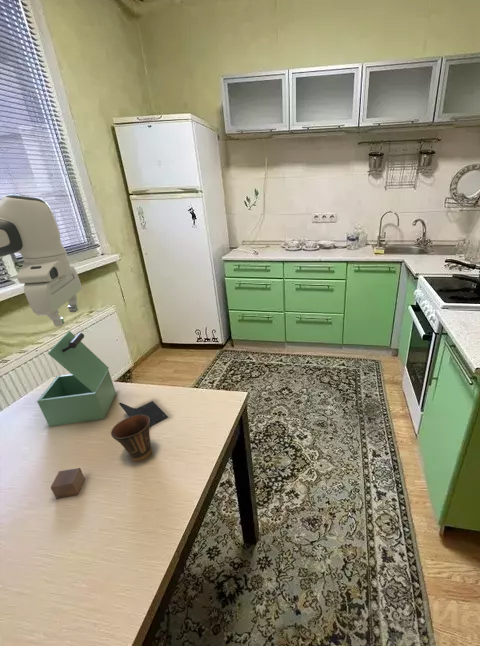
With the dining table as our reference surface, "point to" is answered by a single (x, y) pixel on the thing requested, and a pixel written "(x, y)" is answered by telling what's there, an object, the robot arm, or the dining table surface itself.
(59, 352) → the lid
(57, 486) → the block
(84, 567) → the dining table surface
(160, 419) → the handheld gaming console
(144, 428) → the cup
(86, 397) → the green open box
